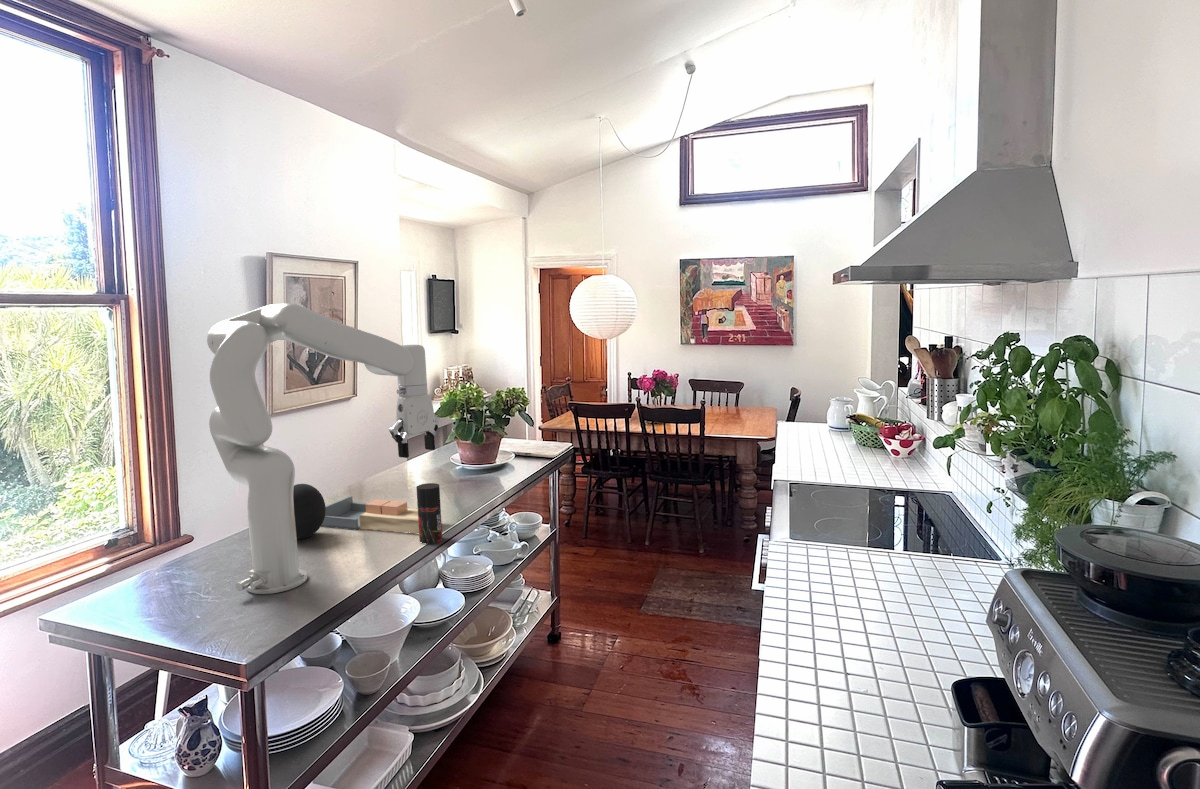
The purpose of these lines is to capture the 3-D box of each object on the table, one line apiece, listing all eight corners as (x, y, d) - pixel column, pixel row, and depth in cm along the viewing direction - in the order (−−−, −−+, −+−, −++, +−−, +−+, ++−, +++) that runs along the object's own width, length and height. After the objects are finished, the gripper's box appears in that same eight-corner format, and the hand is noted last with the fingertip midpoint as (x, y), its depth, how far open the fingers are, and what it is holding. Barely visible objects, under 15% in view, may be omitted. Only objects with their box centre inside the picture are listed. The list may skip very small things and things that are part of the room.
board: (421, 534, 182) (420, 520, 181) (360, 528, 188) (359, 515, 187) (440, 523, 191) (439, 510, 191) (382, 517, 197) (381, 505, 197)
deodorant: (439, 544, 174) (436, 489, 172) (416, 544, 175) (413, 489, 173) (444, 536, 180) (441, 483, 178) (423, 536, 180) (420, 483, 178)
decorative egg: (277, 534, 184) (272, 482, 182) (325, 526, 190) (320, 476, 188) (279, 548, 174) (274, 493, 172) (330, 539, 179) (325, 486, 177)
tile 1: (380, 514, 188) (380, 505, 188) (366, 512, 190) (365, 504, 189) (391, 508, 193) (390, 500, 192) (376, 507, 194) (376, 499, 194)
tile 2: (397, 515, 186) (396, 507, 186) (382, 514, 188) (381, 505, 188) (407, 510, 191) (406, 501, 191) (392, 509, 193) (392, 500, 192)
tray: (356, 529, 187) (355, 512, 186) (319, 526, 191) (317, 509, 190) (386, 514, 200) (385, 498, 200) (351, 511, 204) (350, 495, 204)
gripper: (398, 396, 167) (403, 461, 170) (446, 387, 182) (449, 448, 184) (377, 394, 171) (382, 459, 173) (426, 386, 186) (429, 445, 188)
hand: (417, 453), depth 179 cm, fingers open, 9 cm apart
